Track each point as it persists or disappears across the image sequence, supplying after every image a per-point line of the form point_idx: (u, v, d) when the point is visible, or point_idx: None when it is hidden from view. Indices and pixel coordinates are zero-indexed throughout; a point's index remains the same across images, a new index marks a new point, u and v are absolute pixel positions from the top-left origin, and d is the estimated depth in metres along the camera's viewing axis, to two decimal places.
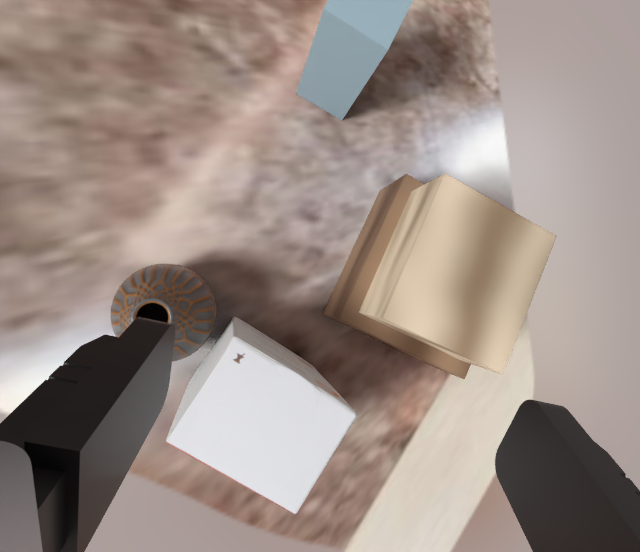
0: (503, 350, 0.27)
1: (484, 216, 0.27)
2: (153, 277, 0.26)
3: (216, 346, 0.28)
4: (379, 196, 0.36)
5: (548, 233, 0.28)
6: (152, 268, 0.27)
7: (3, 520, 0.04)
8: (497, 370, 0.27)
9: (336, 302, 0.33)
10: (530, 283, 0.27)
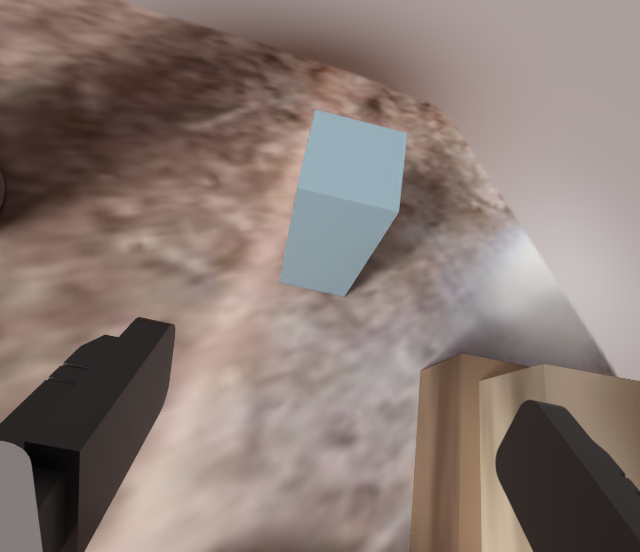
0: None
1: (630, 410, 0.16)
2: None
3: None
4: (424, 380, 0.26)
5: None
6: None
7: (3, 520, 0.04)
8: None
9: None
10: None
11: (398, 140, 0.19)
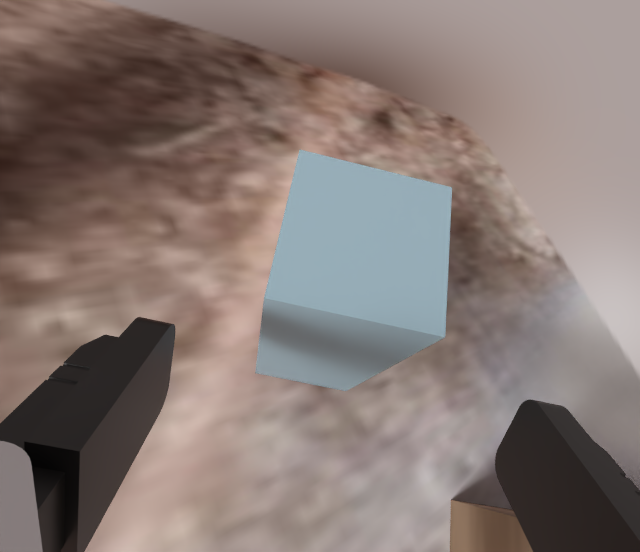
0: None
1: None
2: None
3: None
4: (458, 521, 0.18)
5: None
6: None
7: (3, 521, 0.04)
8: None
9: None
10: None
11: (438, 200, 0.12)
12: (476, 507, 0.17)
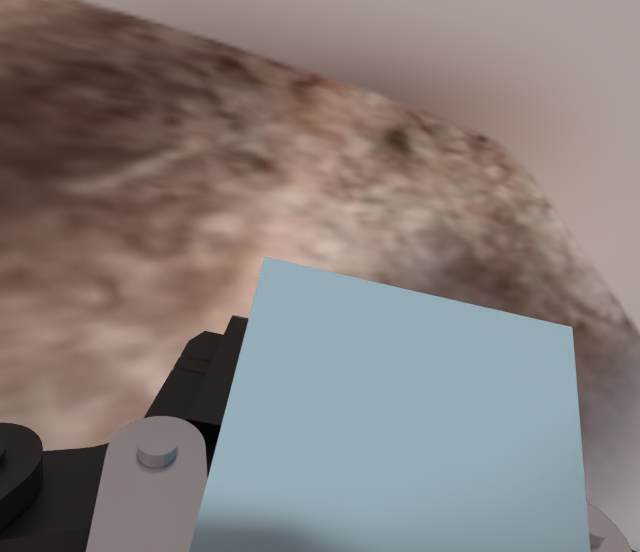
0: None
1: None
2: None
3: None
4: None
5: None
6: None
7: (200, 479, 0.05)
8: None
9: None
10: None
11: (549, 361, 0.06)
12: None
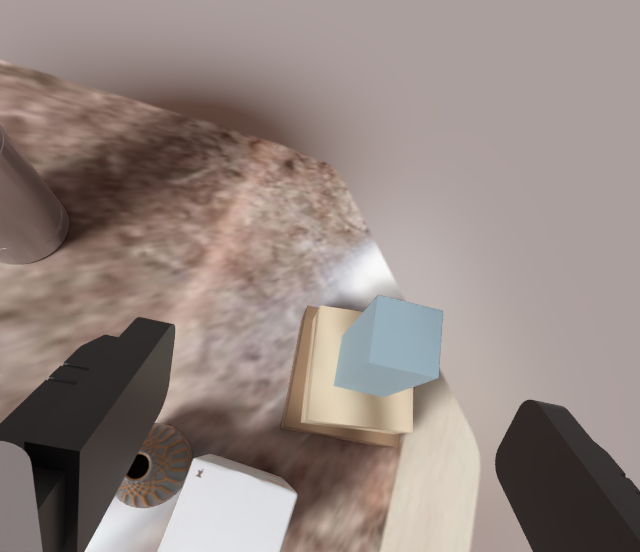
0: (406, 414, 0.35)
1: None
2: None
3: None
4: (300, 325, 0.47)
5: None
6: None
7: (3, 521, 0.04)
8: (407, 431, 0.35)
9: (285, 415, 0.41)
10: None
11: (437, 317, 0.27)
12: (303, 315, 0.46)
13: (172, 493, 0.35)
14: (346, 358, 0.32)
